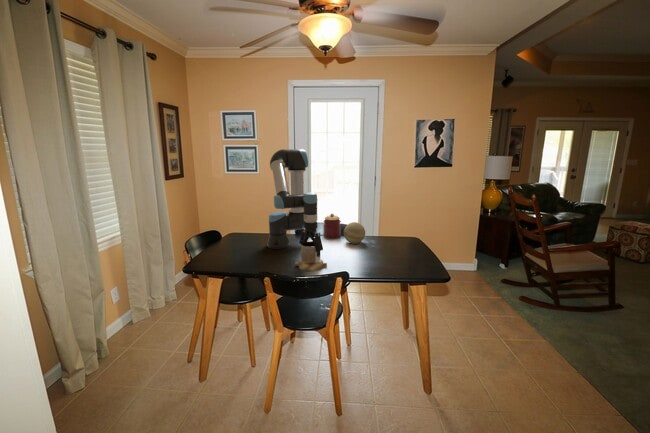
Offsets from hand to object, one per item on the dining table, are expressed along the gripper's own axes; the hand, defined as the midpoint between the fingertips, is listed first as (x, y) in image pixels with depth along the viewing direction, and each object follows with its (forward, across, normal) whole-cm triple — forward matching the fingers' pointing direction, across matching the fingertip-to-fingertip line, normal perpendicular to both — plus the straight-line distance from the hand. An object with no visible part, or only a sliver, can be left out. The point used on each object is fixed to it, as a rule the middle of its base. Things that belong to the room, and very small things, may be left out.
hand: (310, 259), depth 174 cm
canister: (+5, -36, +50) cm, 62 cm away
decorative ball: (+5, -13, +50) cm, 52 cm away
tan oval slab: (+4, 0, 0) cm, 4 cm away
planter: (+1, 0, 0) cm, 1 cm away
